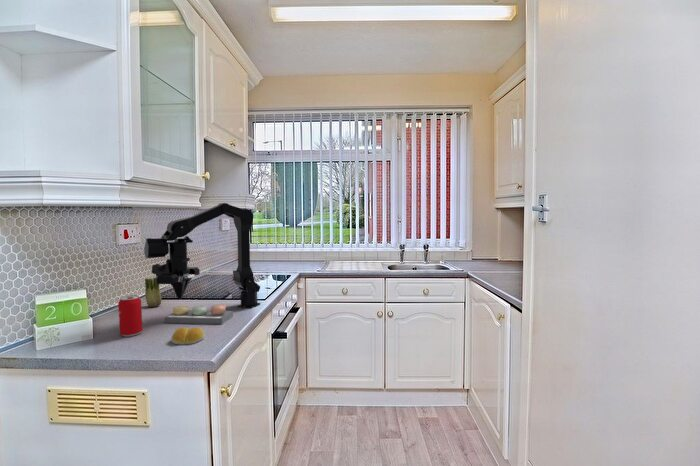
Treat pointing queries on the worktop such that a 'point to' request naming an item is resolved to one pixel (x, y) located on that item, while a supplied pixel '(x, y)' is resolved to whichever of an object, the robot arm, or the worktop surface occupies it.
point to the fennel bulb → (152, 292)
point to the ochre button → (180, 310)
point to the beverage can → (130, 315)
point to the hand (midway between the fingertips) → (179, 298)
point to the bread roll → (187, 336)
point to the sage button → (199, 310)
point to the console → (199, 318)
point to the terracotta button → (218, 309)
